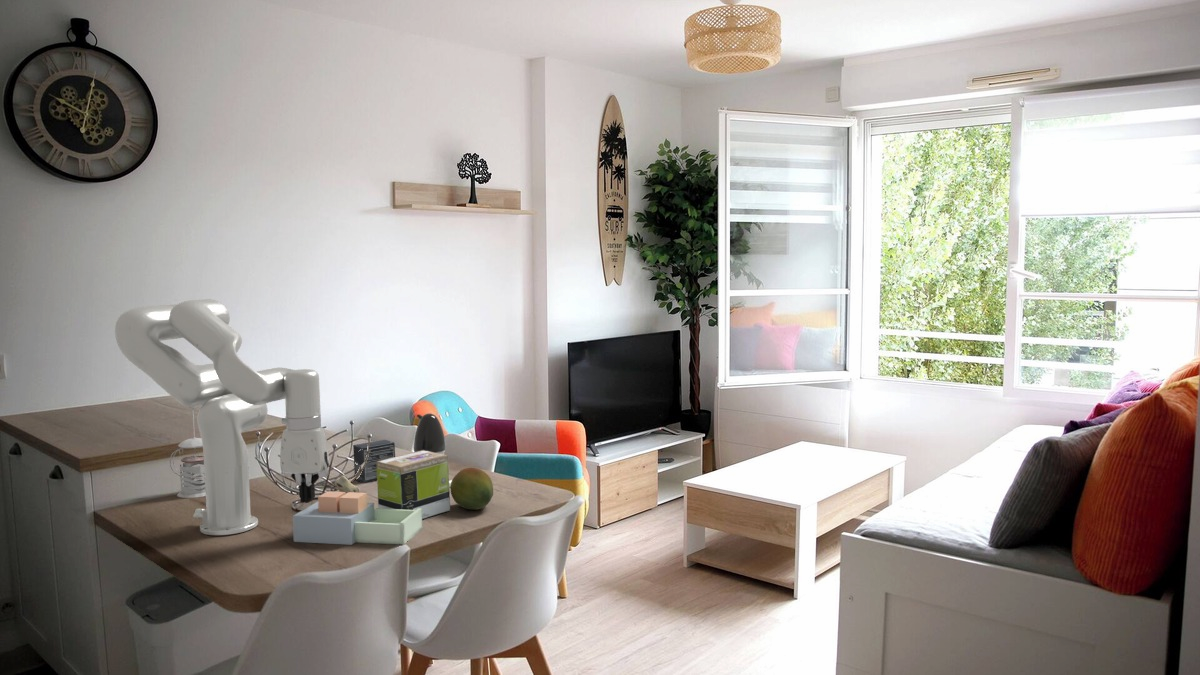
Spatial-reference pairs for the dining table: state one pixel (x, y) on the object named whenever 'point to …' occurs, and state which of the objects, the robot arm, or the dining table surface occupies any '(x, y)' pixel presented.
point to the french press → (191, 469)
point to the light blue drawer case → (328, 525)
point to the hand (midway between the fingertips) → (307, 501)
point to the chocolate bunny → (346, 485)
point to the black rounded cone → (429, 435)
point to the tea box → (414, 483)
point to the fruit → (472, 488)
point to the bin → (389, 526)
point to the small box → (372, 458)
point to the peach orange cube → (353, 502)
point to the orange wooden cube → (329, 501)
